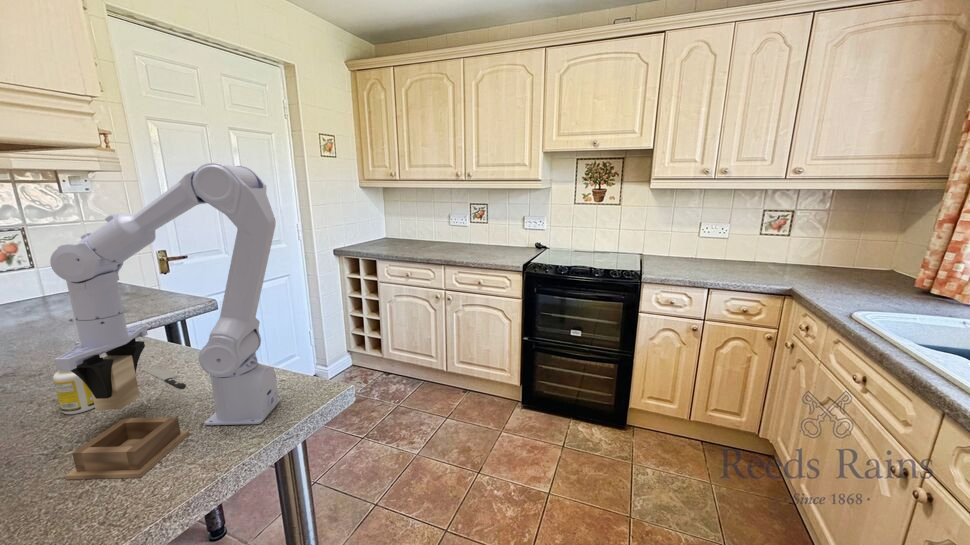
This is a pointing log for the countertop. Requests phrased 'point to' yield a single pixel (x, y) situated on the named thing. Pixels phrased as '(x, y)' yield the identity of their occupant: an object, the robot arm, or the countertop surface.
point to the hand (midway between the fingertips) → (115, 390)
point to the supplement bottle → (72, 393)
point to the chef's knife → (165, 377)
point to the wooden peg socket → (127, 448)
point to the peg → (120, 384)
